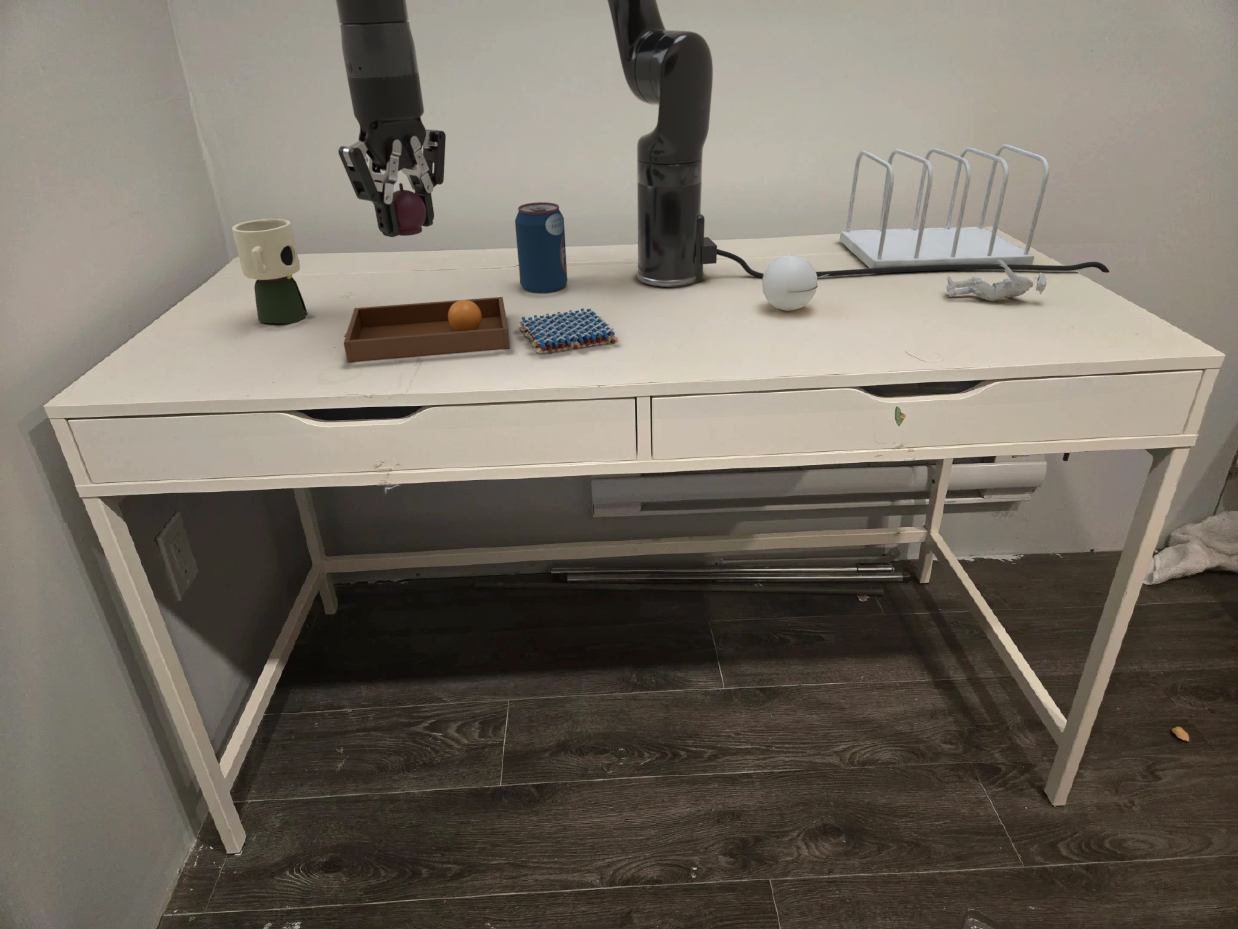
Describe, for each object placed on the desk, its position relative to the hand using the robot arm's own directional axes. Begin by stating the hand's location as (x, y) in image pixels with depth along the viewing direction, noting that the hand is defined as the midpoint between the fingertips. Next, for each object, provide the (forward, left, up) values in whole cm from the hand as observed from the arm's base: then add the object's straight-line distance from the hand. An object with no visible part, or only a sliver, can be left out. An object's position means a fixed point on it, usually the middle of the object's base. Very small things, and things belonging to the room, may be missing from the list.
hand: (408, 229), depth 96 cm
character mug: (+19, -12, -14) cm, 27 cm away
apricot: (-5, -1, -14) cm, 15 cm away
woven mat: (-18, +3, -14) cm, 23 cm away
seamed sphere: (-50, -1, -14) cm, 52 cm away
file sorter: (-80, -20, -14) cm, 84 cm away
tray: (-1, 0, -14) cm, 14 cm away
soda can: (-17, -17, -14) cm, 28 cm away
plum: (0, 0, 0) cm, 0 cm away
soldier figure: (-77, +2, -14) cm, 78 cm away
